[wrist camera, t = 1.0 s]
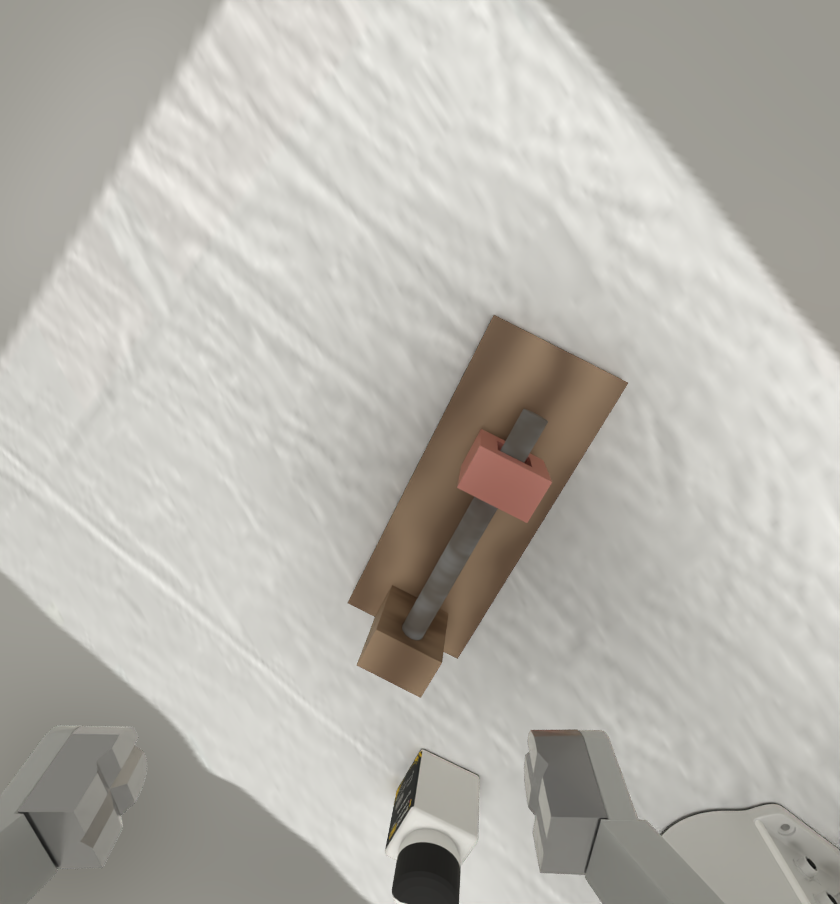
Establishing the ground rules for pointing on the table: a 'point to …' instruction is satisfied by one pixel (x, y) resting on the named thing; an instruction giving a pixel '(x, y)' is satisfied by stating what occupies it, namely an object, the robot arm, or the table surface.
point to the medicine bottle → (432, 830)
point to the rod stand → (474, 501)
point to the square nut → (503, 477)
